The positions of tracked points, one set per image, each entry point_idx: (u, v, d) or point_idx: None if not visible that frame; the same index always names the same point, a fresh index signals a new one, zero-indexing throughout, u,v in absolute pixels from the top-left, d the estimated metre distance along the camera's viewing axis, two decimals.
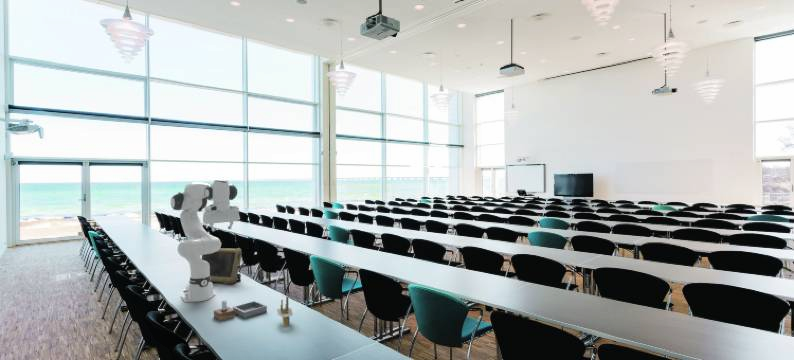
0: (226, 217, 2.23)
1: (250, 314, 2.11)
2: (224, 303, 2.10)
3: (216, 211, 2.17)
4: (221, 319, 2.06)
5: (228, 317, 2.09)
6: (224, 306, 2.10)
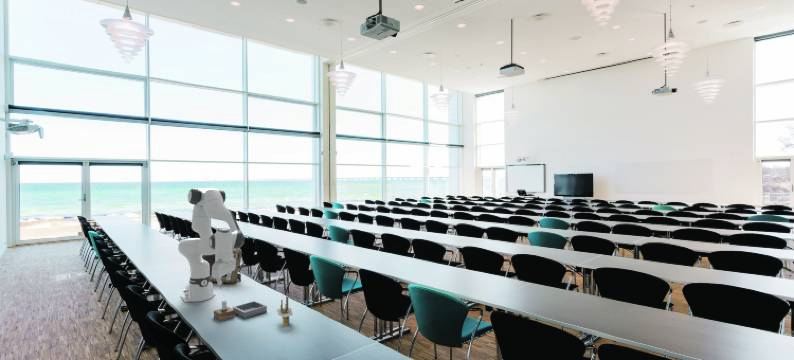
0: None
1: (250, 314, 2.11)
2: (224, 303, 2.10)
3: None
4: (221, 319, 2.06)
5: (228, 317, 2.09)
6: (224, 306, 2.10)
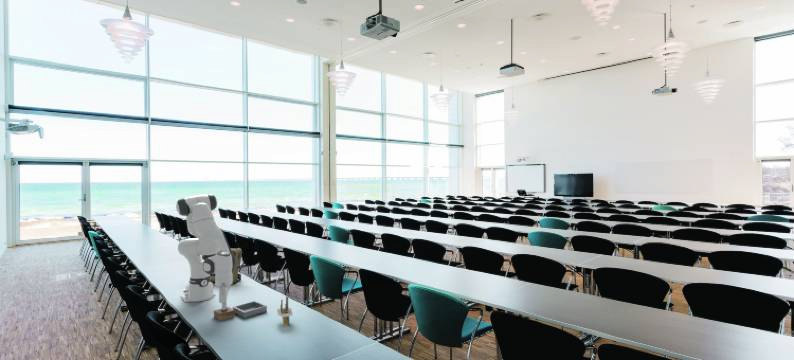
0: None
1: (250, 314, 2.11)
2: None
3: None
4: (221, 319, 2.06)
5: (228, 317, 2.09)
6: None
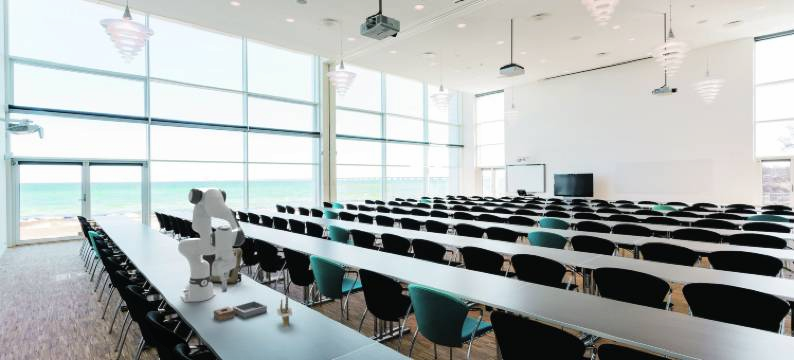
0: None
1: (250, 314, 2.11)
2: None
3: None
4: (221, 319, 2.06)
5: (228, 317, 2.09)
6: None
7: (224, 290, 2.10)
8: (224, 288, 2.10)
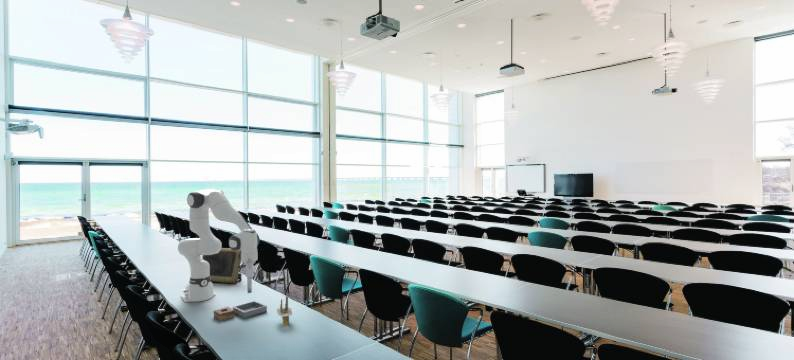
0: None
1: (250, 314, 2.11)
2: None
3: None
4: (221, 319, 2.06)
5: (228, 317, 2.09)
6: None
7: (250, 291, 2.17)
8: (250, 289, 2.17)
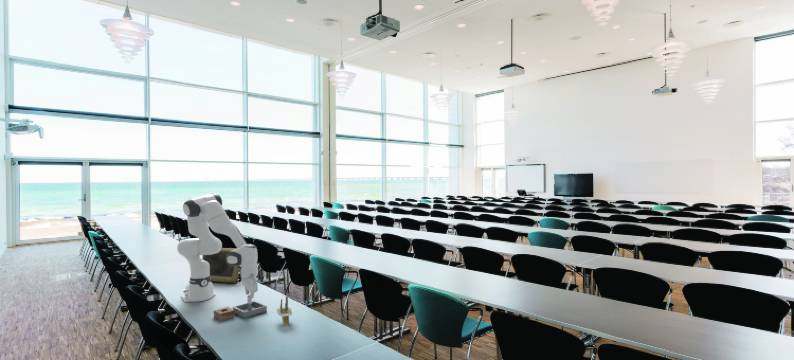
0: (247, 284, 2.15)
1: (250, 314, 2.11)
2: None
3: None
4: (221, 319, 2.06)
5: (228, 317, 2.09)
6: (250, 300, 2.17)
7: (251, 309, 2.18)
8: (251, 307, 2.18)
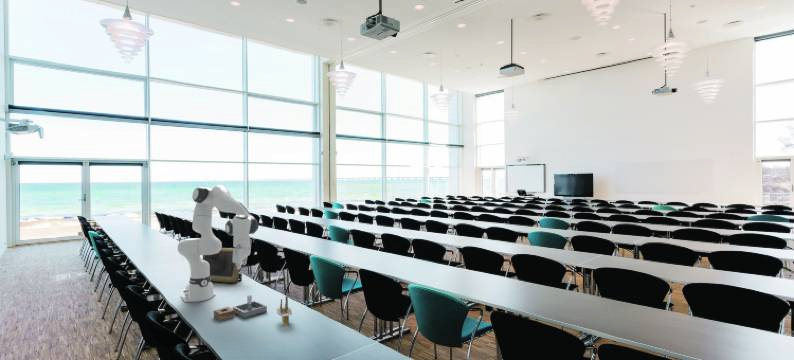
0: None
1: (250, 314, 2.11)
2: (250, 297, 2.18)
3: None
4: (221, 319, 2.06)
5: (228, 317, 2.09)
6: (250, 300, 2.18)
7: (251, 309, 2.18)
8: (251, 307, 2.18)
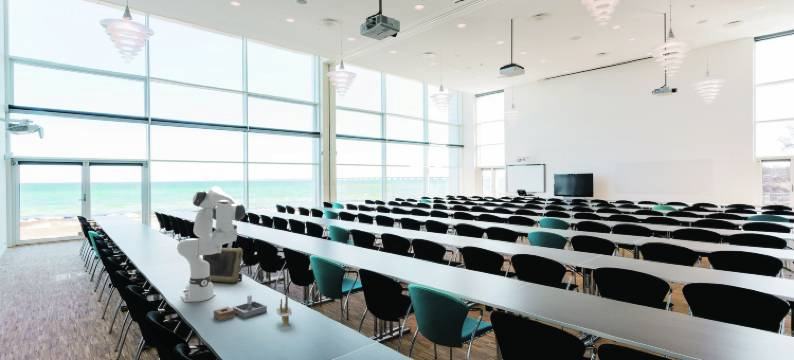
0: None
1: (250, 314, 2.11)
2: (250, 297, 2.17)
3: None
4: (221, 319, 2.06)
5: (228, 317, 2.09)
6: (250, 300, 2.17)
7: (251, 309, 2.18)
8: (251, 307, 2.18)
